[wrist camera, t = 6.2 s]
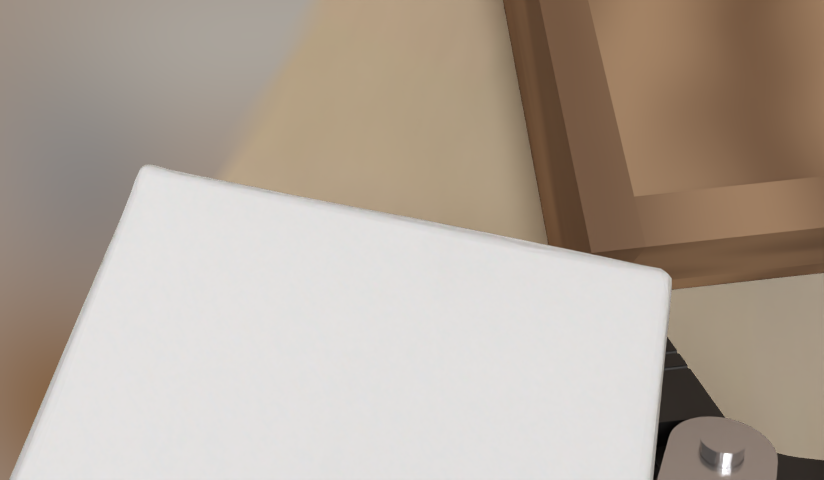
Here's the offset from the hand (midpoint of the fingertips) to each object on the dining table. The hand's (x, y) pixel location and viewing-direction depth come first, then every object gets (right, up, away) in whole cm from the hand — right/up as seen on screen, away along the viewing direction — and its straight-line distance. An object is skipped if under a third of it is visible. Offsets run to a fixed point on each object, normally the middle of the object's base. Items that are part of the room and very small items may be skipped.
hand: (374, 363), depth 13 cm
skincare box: (0, -4, +5) cm, 6 cm away
